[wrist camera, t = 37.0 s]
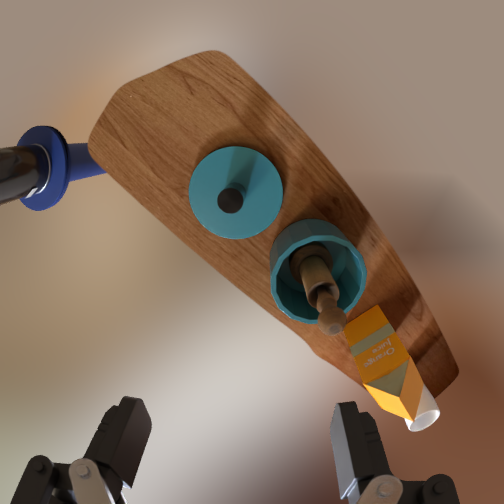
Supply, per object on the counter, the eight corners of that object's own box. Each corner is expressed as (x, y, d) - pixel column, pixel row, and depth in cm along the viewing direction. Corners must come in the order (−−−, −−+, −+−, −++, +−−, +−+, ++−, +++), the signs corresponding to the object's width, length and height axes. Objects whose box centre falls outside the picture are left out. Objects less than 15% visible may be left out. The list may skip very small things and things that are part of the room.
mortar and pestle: (335, 271, 44) (370, 340, 27) (297, 286, 45) (313, 362, 28) (322, 233, 42) (358, 289, 25) (282, 249, 43) (293, 314, 26)
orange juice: (360, 355, 50) (391, 435, 32) (341, 326, 48) (371, 413, 29) (395, 333, 49) (437, 408, 30) (378, 303, 46) (425, 381, 28)
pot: (307, 308, 47) (315, 338, 39) (252, 259, 45) (250, 284, 37) (364, 257, 44) (383, 280, 36) (312, 201, 41) (323, 213, 33)
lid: (238, 254, 44) (234, 273, 38) (172, 195, 42) (156, 204, 35) (301, 191, 41) (309, 199, 34) (233, 127, 38) (226, 122, 31)
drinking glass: (406, 353, 50) (434, 404, 36) (418, 367, 52) (444, 415, 38) (381, 373, 52) (403, 426, 38) (394, 385, 54) (415, 435, 40)
